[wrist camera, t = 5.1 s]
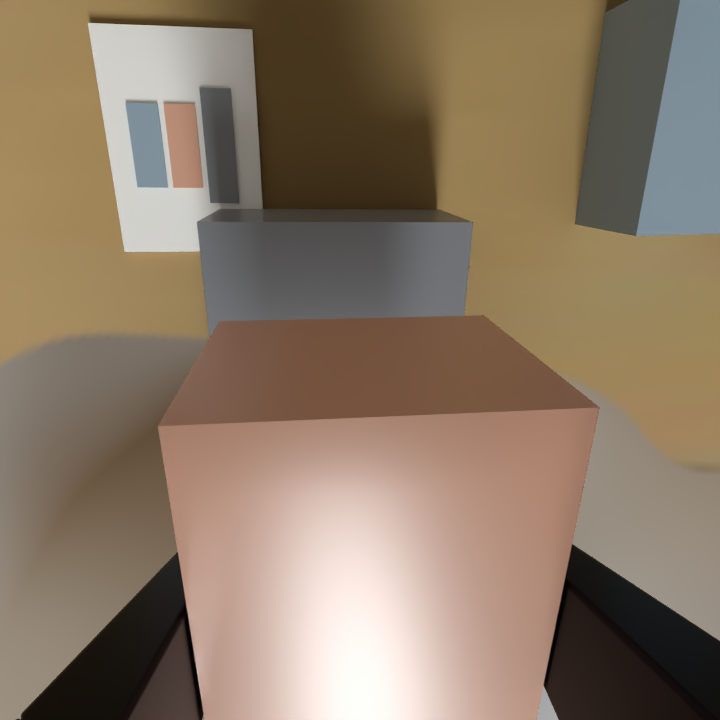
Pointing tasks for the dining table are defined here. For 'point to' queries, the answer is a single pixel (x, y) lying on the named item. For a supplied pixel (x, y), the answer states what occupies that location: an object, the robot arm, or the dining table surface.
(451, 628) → the terracotta brick
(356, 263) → the charcoal base brick
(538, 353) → the dining table surface
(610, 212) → the slate brick
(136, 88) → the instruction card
